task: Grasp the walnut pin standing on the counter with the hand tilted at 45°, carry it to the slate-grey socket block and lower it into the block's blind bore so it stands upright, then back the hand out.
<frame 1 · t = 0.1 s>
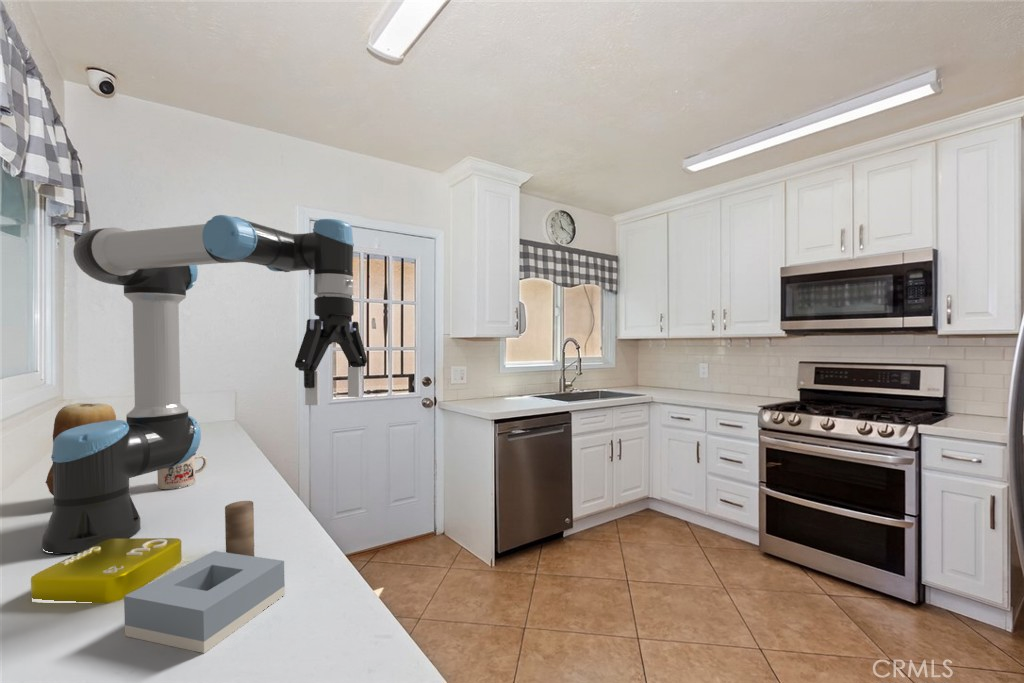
hand: (334, 400, 95), 28 cm above the countertop, tool pointing down, fingers open, 13 cm apart
element tile: (112, 582, 80), on the countertop
enamel mug: (183, 484, 133), on the countertop
socket block: (210, 614, 69), on the countertop
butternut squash: (84, 501, 120), on the countertop
pin: (240, 566, 84), on the countertop
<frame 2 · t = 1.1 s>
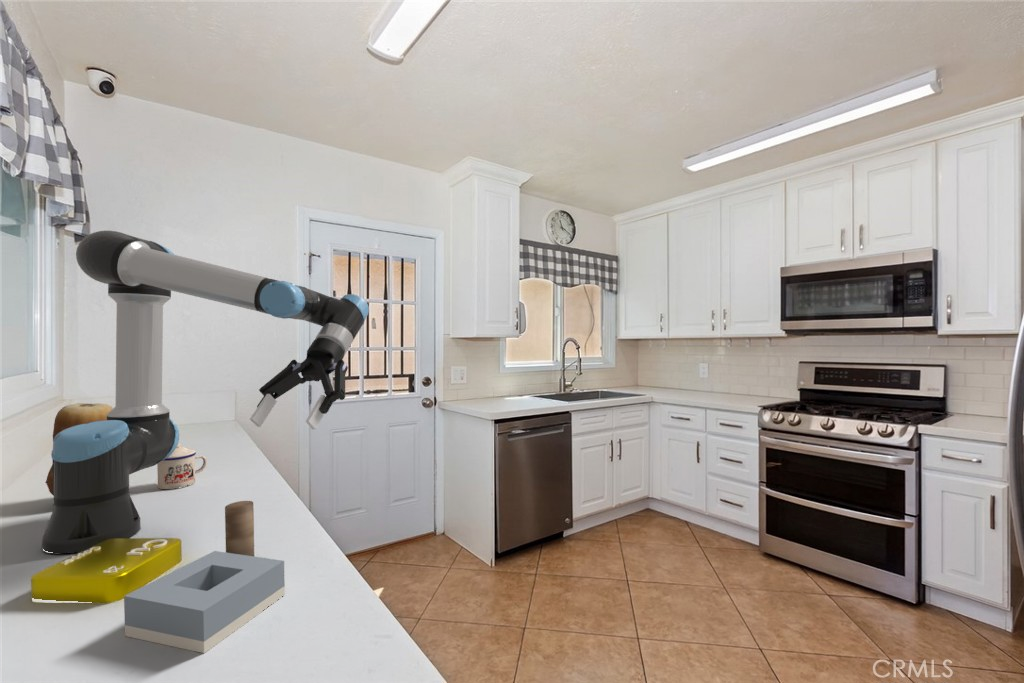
hand: (282, 424, 93), 24 cm above the countertop, tool tilted 45°, fingers open, 13 cm apart
nothing on the countertop moved.
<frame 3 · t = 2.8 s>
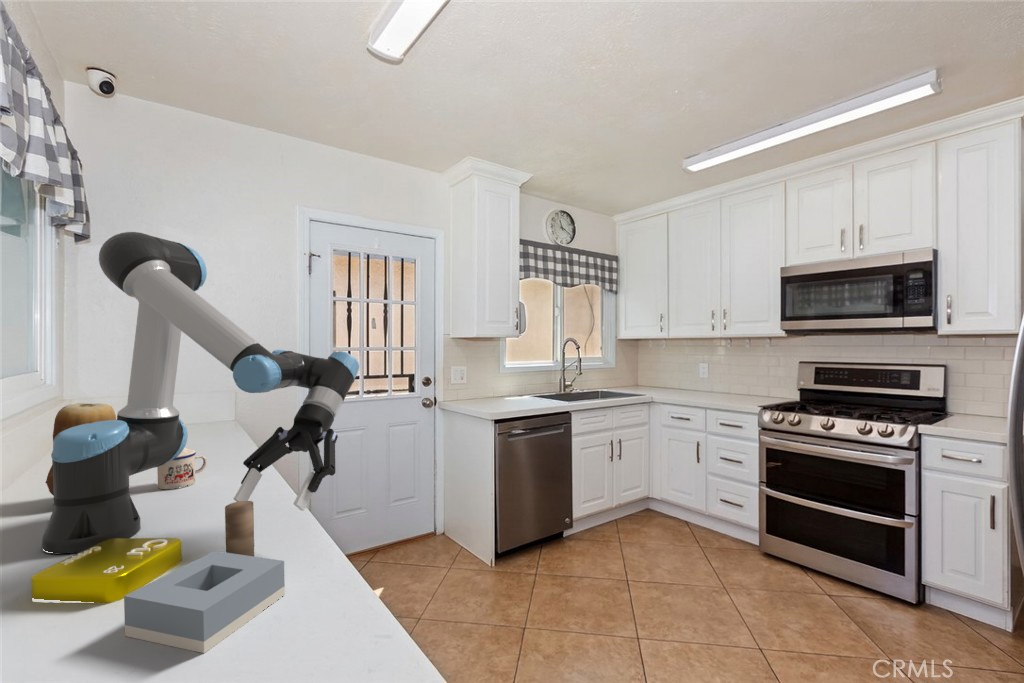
hand: (268, 505, 88), 9 cm above the countertop, tool tilted 45°, fingers open, 13 cm apart
nothing on the countertop moved.
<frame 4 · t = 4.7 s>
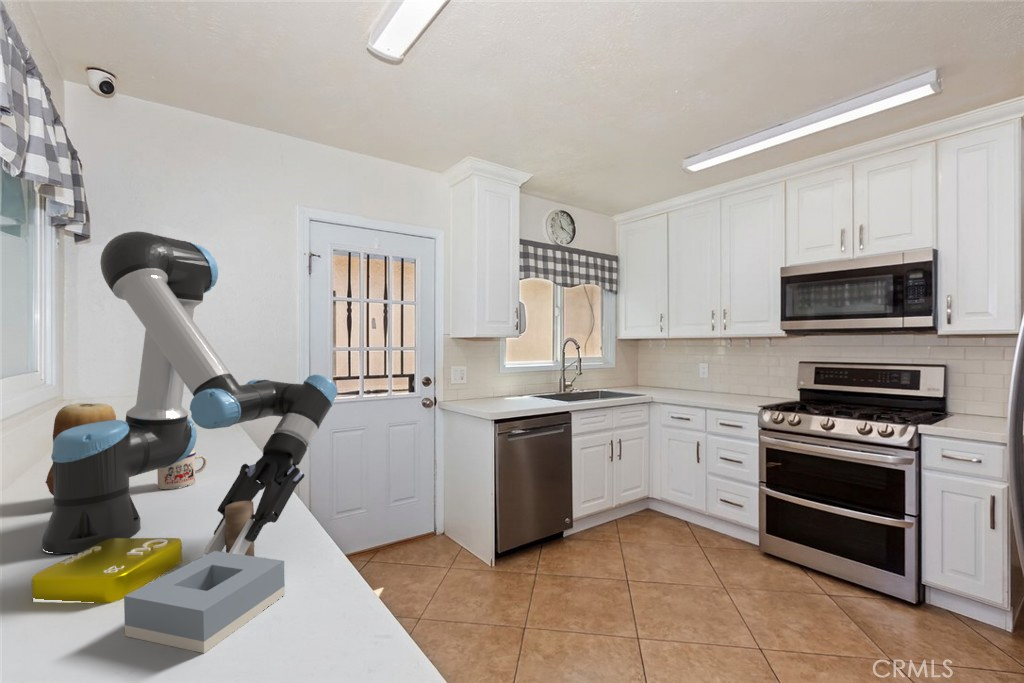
hand: (221, 557, 80), 3 cm above the countertop, tool tilted 45°, fingers closed on pin, 4 cm apart
pin: (240, 566, 84), on the countertop, touching gripper
everything else where it was.
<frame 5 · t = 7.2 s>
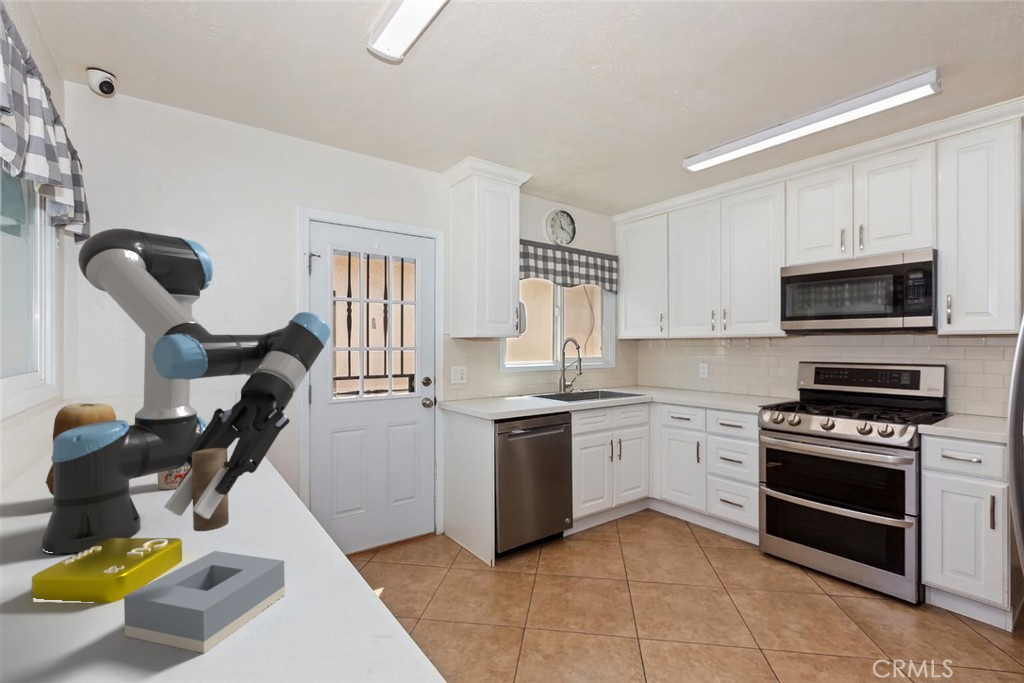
hand: (186, 512, 65), 16 cm above the countertop, tool tilted 45°, fingers closed on pin, 4 cm apart
pin: (211, 525, 69), point 13 cm above the countertop, touching gripper
everything else where it was.
when the fingers open (7 cm above the countertop, at t = 9.7 s): pin drops 2 cm, resting on socket block.
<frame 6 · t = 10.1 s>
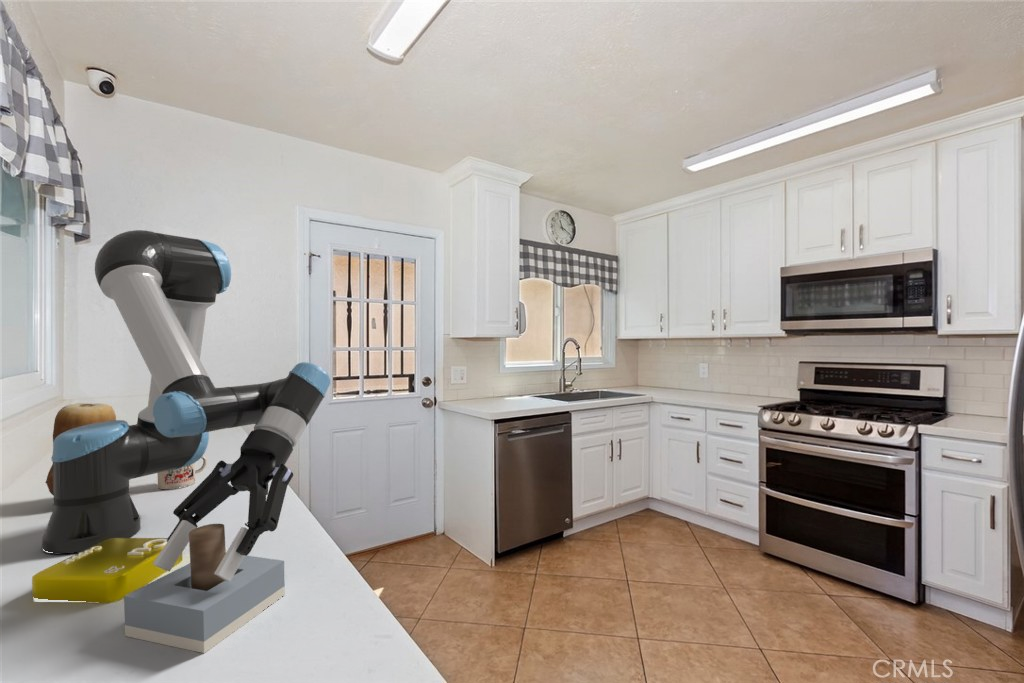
hand: (190, 572, 66), 8 cm above the countertop, tool tilted 45°, fingers open, 10 cm apart
pin: (210, 603, 69), point 2 cm above the countertop, touching socket block
everything else where it was.
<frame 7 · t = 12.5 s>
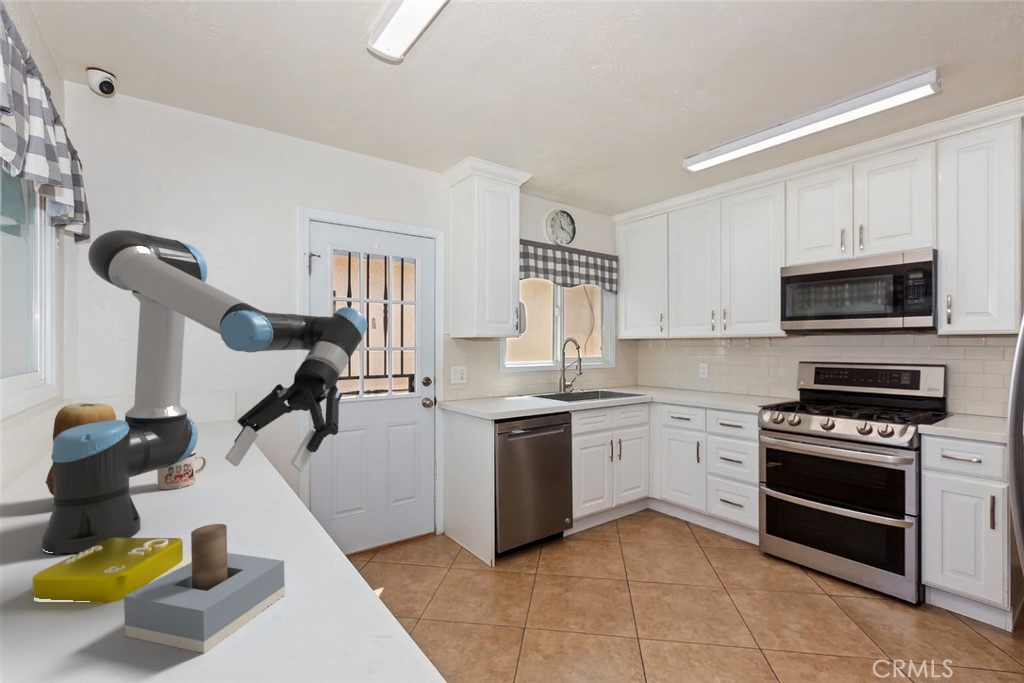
hand: (262, 465, 79), 19 cm above the countertop, tool tilted 45°, fingers open, 13 cm apart
nothing on the countertop moved.
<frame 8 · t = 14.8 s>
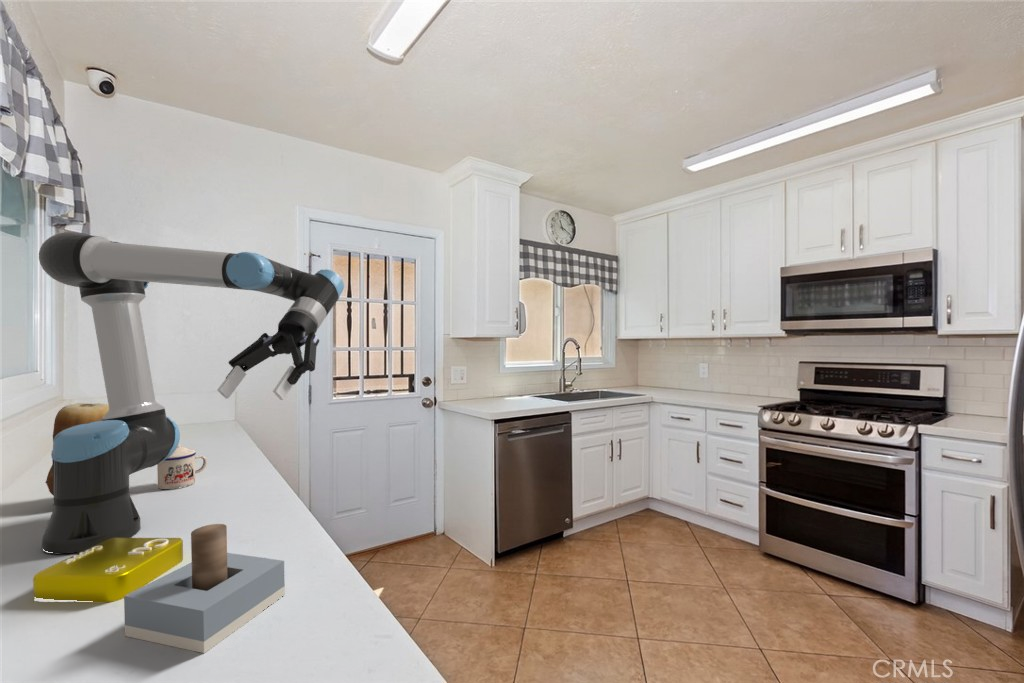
hand: (249, 395, 92), 30 cm above the countertop, tool tilted 45°, fingers open, 13 cm apart
nothing on the countertop moved.
at the end: pin 0.1 cm off-centre on the socket block, point 1.5 cm above the socket block's base; pin tilted 0°; the gripper is holding nothing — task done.
